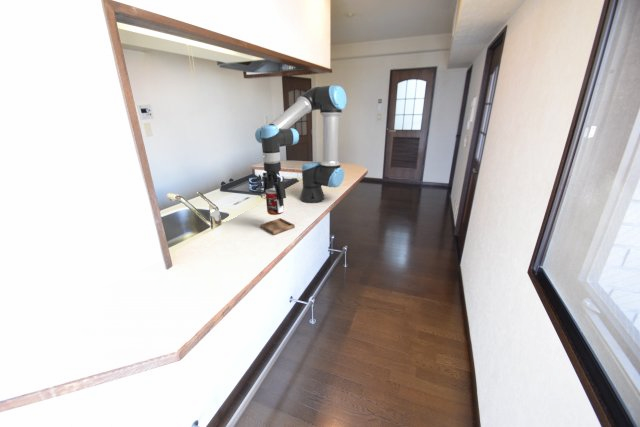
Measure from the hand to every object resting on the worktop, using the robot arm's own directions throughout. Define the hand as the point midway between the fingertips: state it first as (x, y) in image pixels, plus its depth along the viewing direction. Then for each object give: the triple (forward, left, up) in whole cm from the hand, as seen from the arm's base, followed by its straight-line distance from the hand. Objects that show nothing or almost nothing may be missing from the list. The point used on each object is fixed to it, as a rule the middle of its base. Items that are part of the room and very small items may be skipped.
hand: (275, 209), depth 129 cm
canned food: (0, 0, -1) cm, 1 cm away
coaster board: (0, 0, -9) cm, 9 cm away
